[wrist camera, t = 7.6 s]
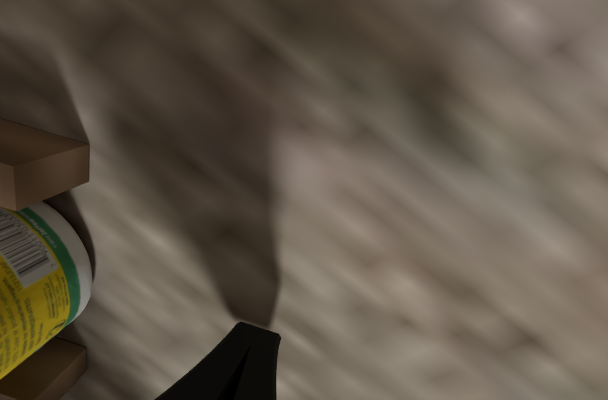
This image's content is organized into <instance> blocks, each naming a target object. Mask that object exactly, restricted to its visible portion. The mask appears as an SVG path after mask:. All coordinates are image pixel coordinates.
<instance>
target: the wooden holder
mask: <svg viewBox="0 0 608 400" xmlns="http://www.w3.org/2000/svg"><path fill="white" fill-rule="evenodd" d="M86 182H89V145H88V144H85V143H82V142H78V141H75V140H71V139H68V138H65V137H61V136H58V135H55V134H51V133H48V132H45V131H41V130H38V129H34V128H31V127H28V126H24V125H21V124H18V123H14V122H11V121H8V120H4V119H1V118H0V206H1V207H4V208H7V209H10V210H13V211H19V210H21V209H24V208H26V207H28V206H31V205H33V204H36V203H38V202H40V201H43V200H45V199H48V198H50V197H52V196H55V195H57V194H60V193H62V192H65V191H67V190H69V189H72V188H74V187H77V186H79V185H81V184H84V183H86ZM85 371H86V348H85V347H82V346H79V345H76V344H73V343H70V342H67V341H64V340H61V339H59V338H56V337H53V338H51V339H50V340H49V341H48V342H46V343H45V344H44V345H43V346H42V347H41V348H39V349H38V350H37V351H35V352H34V353H33V354H32V355H30V356H29V357H28V358H26V359H25V360H24V361H23V362H22V363H20V364H19V365H18V366H17V367H15V368H14V369H13V370H12V371H10V372H9V373H8V374H7V375H5V376H4V377H3V378H2V379H0V400H59V399H60V398H61V397H62V396H63V395H64V394H65V393H66V392H67V391H68V389H69V388H70V387H71V386H72V385H73V384H74V383H75V382H76V381H77V380H78V379H79V378H80V377H81V376H82V374H83V373H84V372H85Z"/></svg>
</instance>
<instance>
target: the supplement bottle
mask: <svg viewBox="0 0 608 400" xmlns="http://www.w3.org/2000/svg"><path fill="white" fill-rule="evenodd" d="M91 291H92V271H91V265H90V261H89V257H88V254H87V252H86V249H85V247H84V245H83V243H82V241H81V240H80V238H79V236H78V235H77V233H76V232H75V231H74V229H73V228H72V227H71V225H70V224H69V223H68V222H67V221H66V220H65V219H64V218H63V217H62V216H61V215H60V214H59V213H58V212H57V211H56V210H54V209H53V208H52V207H50V206H49V205H47V204H46V203H44V202H43V201H40V202H38V203H36V204H33V205H31V206H28V207H26V208H24V209H21V210H19V211H13V210H10V209H7V208H4V207H1V206H0V379H2V378H3V377H4V376H5V375H7V374H8V373H9V372H10V371H12V370H13V369H14V368H15V367H17V366H18V365H19V364H20V363H22V362H23V361H24V360H25V359H26V358H28V357H29V356H30V355H32V354H33V353H34V352H35V351H37V350H38V349H39V348H41V347H42V346H43V345H44V344H45V343H46V342H48V341H49V340H50V339H51V338H53V337H54V336H55V335H56V334H58V333H59V332H60V331H61V330H62V329H63V328H64V327H65V326H67V325H68V324H69V323H71V322H72V321H73V320H74V319H75V318H77V317H78V316H79V315H80V314H81V313H82V311H83V310H84V309H85V307H86V305H87V303H88V301H89V299H90V296H91Z"/></svg>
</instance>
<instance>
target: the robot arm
mask: <svg viewBox="0 0 608 400" xmlns="http://www.w3.org/2000/svg"><path fill="white" fill-rule="evenodd" d="M280 340H281V337H280V335H279V334H278V333H275V332H272V331H269V330H265V329H262V328H259V327H256V326H253V325H250V324H247V323H244V322H239V323H237V324H236V325H235V326H234V328H233V329H232V330H231V331H230V332H229V333H228V335H227V336H226V337H225V338H224V339H223V340H222V341H221V342H220V343H219V344H218V345H217V346H216V347H215V348H214V349H213V350H212V351H211V352H210V353H209V354H208V355H207V356H206V357H205V358H204V359H202V360H201V361H200V362H199V363H198V364H197V365H196V366H195V367H194V368H193V369H192V370H190V371H189V372H188V373H187V374H186V375H184V376H183V377H182V378H181V379H180V380H178V381H177V382H176V383H175V384H174V385H172V386H171V387H170V388H169V389H168V390H166V391H165V392H164V393H162V394H161V395H160V396H159V397H157V398H156V399H155V400H276V369H277V356H278V349H279V344H280Z"/></svg>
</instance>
